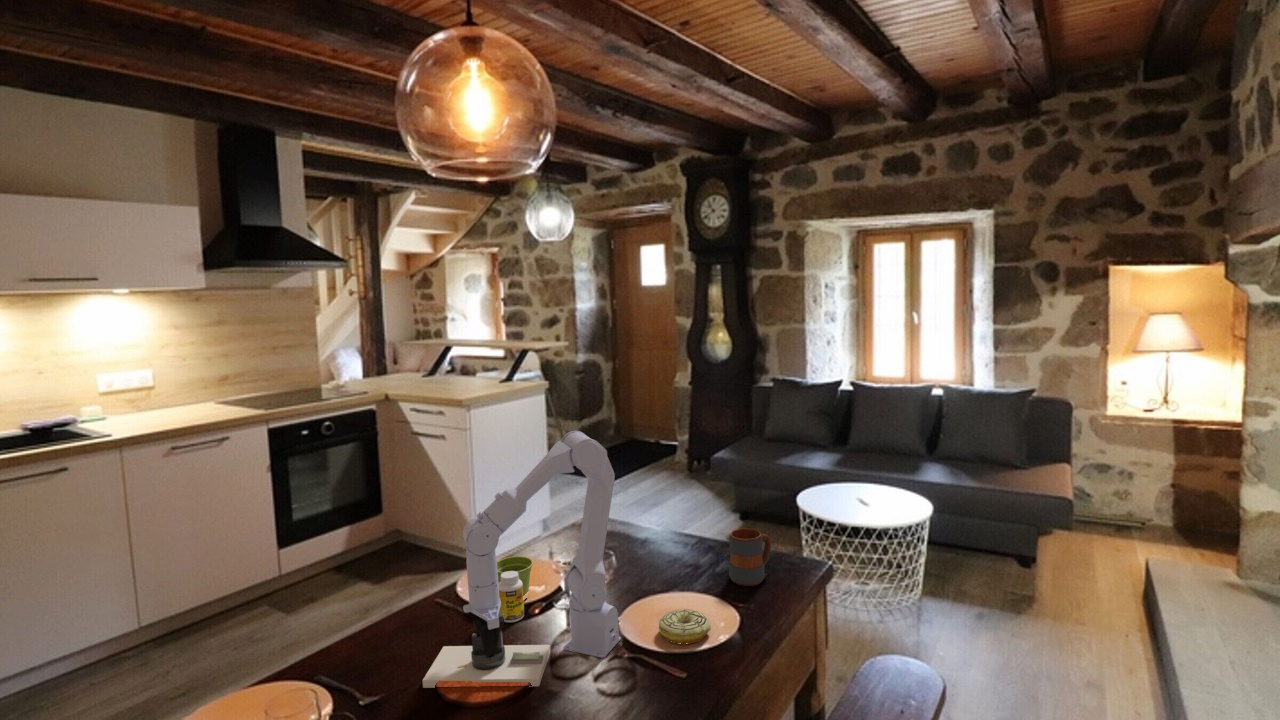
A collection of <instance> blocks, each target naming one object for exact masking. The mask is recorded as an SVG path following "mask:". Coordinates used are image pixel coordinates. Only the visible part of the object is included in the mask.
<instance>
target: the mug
mask: <svg viewBox="0 0 1280 720" xmlns="http://www.w3.org/2000/svg"><path fill="white" fill-rule="evenodd" d="M763 541H764V547H763ZM771 545H772V541H771V538H770V536H769V535H768V534H766V533H763V534H762V533H761V532H760V531H759V530H757V529H753V528H738V529H734V530H732V531H731V532H730V533H729V552H730V560H729V564H728V565H729V566H728V567H729V569H728V571H729V572H728V574H729V578H730V579H731V581H732V583H734V584H736V585H738V586H743V587H753V586H754V587H755V586H758V585H760V584H761V583H762V582H763V580H764V579H765V575H766V574H765V573H766V572H765V566H766V564H767V563H768V561H769V558H770V555H771V554H770V553H771V547H772V546H771Z"/></svg>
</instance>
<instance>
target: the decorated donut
mask: <svg viewBox="0 0 1280 720" xmlns="http://www.w3.org/2000/svg"><path fill="white" fill-rule="evenodd" d="M658 628H659V629H658V630H659V632H660V634H661V636H662V637H663V638H664V637H665V639H666V640H667V641H668V640H669V641H668V642H670V641H672V642H675V643H674V644H676V643H681V644H680V645H683V644H684V645H687V644H686V643H690V644H695V643H694V642H696V643H698V642H700V641H702V640H703V639H704V638H705V636H706V635H707V634H708V633H709V632H710V631H711V629H712V624H711V621H710V619H709V618H708V616H707V615H705V613H703V612H700V611H699V610H697V609H694V608H693V609H689V608H688V609H685V608H684V609H676V610H673V611H669V612H667V613H665V614H663V615H662V616H661V617H660V618H659V621H658ZM697 641H698V642H697ZM672 642H671V643H672Z"/></svg>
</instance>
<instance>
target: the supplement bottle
mask: <svg viewBox="0 0 1280 720" xmlns="http://www.w3.org/2000/svg"><path fill="white" fill-rule="evenodd" d="M498 583H499V582H498ZM499 598H500V600H501V606H500V611H499V615H498V617H500V616H503V617H504V619H505V621H504V623H515V622H518V621H520V620H522V619H523V618H524V617H525V604H524V602H525V601H524V600H523V583H522V581H521V580H519V575H518V572H516V571H507V572H504V573H502V574H501V582H500V583H499Z"/></svg>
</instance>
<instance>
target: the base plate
mask: <svg viewBox="0 0 1280 720" xmlns="http://www.w3.org/2000/svg"><path fill="white" fill-rule="evenodd" d="M503 646H504V647H505V661H504V663H503V664H502V665H500V666H499V667H496V668H494V669H490V670H479V669H476V668H474V667H473V666H472V657H471V652H472V651H473V649H472V645H454V646H453V645H448V646H447V645H446V646H445V645H444V646H442V648H441V650H440V652H439V653H438V655H437V656H436V658H435V659H434V660H433V663H432V664H431V666H430V668H429V669H428V671H427V672H426V674H425V676H424V677H423V679H422V688H423V689H424V688H425V689H428V688H429V689H431V688H433V689H434V688H435V685H436V683H437V682H438V681H472V682H479V681H480V682H481V681H482V682H530V683H531V685H532V686H531V687H540V685H541V681H542V678H543V675H544V672H545V670H546V667H547V663H548V660H549V658H550V654H551V645H550V644H525V645H524V644H517V645H516V644H507V645H504V644H503Z"/></svg>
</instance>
